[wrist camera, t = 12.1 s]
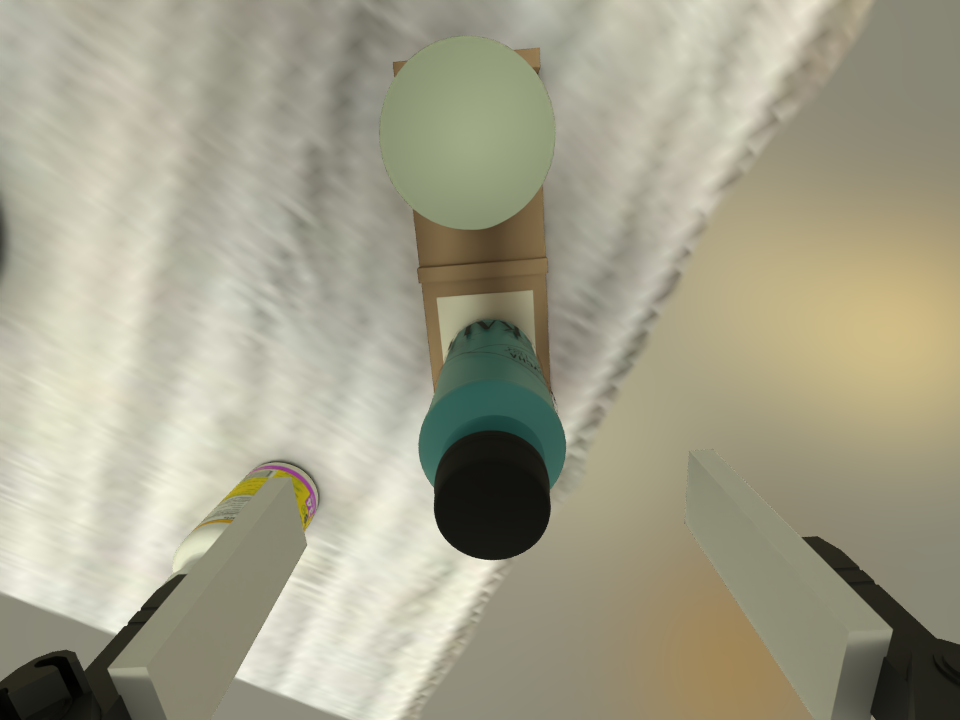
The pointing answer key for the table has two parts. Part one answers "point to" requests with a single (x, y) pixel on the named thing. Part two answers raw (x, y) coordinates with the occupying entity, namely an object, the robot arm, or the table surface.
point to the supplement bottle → (235, 502)
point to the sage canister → (467, 132)
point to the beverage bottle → (492, 443)
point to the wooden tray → (485, 273)
